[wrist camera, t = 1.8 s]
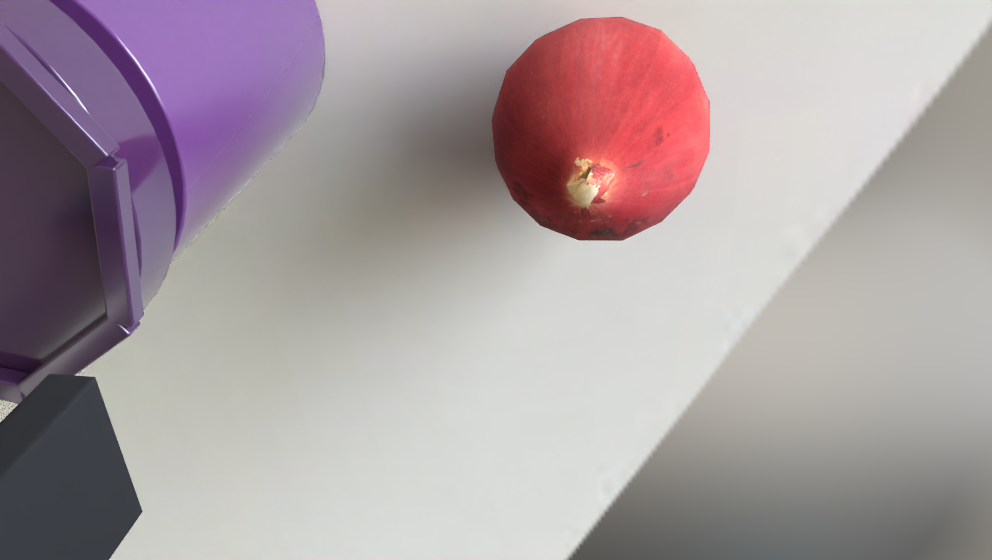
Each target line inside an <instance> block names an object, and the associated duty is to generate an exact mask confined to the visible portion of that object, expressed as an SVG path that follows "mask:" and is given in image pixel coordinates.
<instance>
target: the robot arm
mask: <svg viewBox="0 0 992 560" xmlns="http://www.w3.org/2000/svg"><path fill="white" fill-rule="evenodd" d="M141 513H142V509H141V506H140V503H139V501H138V498H137V495H136V492H135V489H134V486H133V484H132V481H131V478H130V475H129V472H128V469H127V467H126V464H125V461H124V458H123V455H122V452H121V450H120V447H119V444H118V441H117V438H116V435H115V433H114V430H113V427H112V424H111V421H110V418H109V416H108V413H107V410H106V407H105V404H104V401H103V399H102V396H101V393H100V390H99V387H98V384H97V382H96V379H95V377H85V376H72V375H58V374H48V375H47V376H46V377H45V378H44V379H43V380H42V381H41V382H40V383H39V384H38V385H37V386H36V387H35V388H34V389H33V390H32V391H31V392H30V393H29V394H28V395H27V396H26V397H25V398H24V399H23V400H22V401H21V402H20V403H19V404H18V405H17V406H16V407H15V408H14V409H13V410H12V412H11V413H10V414H9V415H8V416H7V417H6V418H5V419H4V420H3V421H2V422H1V423H0V560H109V559H110V557H111V556H112V554H113V553H114V551H115V550H116V549H117V547H118V546H119V544H120V543H121V541H122V540H123V539H124V537H125V536H126V534H127V533H128V531H129V530H130V529H131V527H132V526H133V524H134V523H135V521H136V520H137V519H138V517H139V516H140V514H141Z"/></svg>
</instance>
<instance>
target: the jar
mask: <svg viewBox="0 0 992 560" xmlns="http://www.w3.org/2000/svg"><path fill="white" fill-rule="evenodd" d="M324 62H325V52H324V37H323V32H322V26H321V20H320V17H319V14H318V10H317V7H316V3H315V1H314V0H0V400H5V401H9V402H14V403H18V404H19V403H20V402H21V401H22V400H23V399H24V398H25V397H26V396H27V395H28V394H29V393H30V392H31V391H32V390H33V389H34V388H35V387H36V386H37V385H38V384H39V383H40V382H41V381H42V380H43V379H44V378H45V377H46V376H47V375H48V374H58V375H72V376H74V375H76V374H77V373H79V372H80V371H81V370H83V369H84V368H86V367H87V366H88V365H90V364H91V363H93V362H94V361H95V360H97V359H98V358H100V357H101V356H102V355H104V354H105V353H107V352H108V351H109V350H111V349H112V348H113V347H115V346H116V345H118V344H119V343H120V342H122V341H123V340H125V339H126V338H127V337H129V336H130V335H131V334H132V333H133V332H134V331H135V330H136V329H137V328H138V326H139V325H140V322H139V320H140V319H141V318H142V317H143V315H144V310H145V308H146V307H147V306H148V304H149V303H150V302H151V301H152V299H153V298H154V297H155V296H156V294H157V292H158V290H159V289H160V287H161V285H162V283H163V281H164V279H165V277H166V275H167V271H168V268H169V265H170V264H171V263H172V262H173V261H174V260H175V259H176V257H177V256H178V255H179V254H180V253H181V252H182V251H183V250H184V249H185V248H186V247H187V246H188V245H189V244H190V243H191V242H192V241H193V240H194V239H195V238H196V237H197V236H198V235H199V234H200V233H201V232H202V231H203V230H204V229H205V228H206V226H207V225H208V224H209V223H210V222H211V221H212V220H213V219H214V218H215V217H216V216H217V215H218V214H219V213H220V212H221V211H222V210H223V209H224V208H225V207H226V206H227V205H228V204H229V203H230V202H231V201H232V200H233V199H234V198H235V197H236V195H237V194H238V193H239V192H240V191H241V190H242V189H243V188H244V187H245V186H246V185H247V184H248V183H249V182H250V181H251V180H252V179H253V178H254V177H255V176H256V175H257V174H258V173H259V172H260V171H261V170H262V169H263V168H264V167H265V166H266V164H267V163H268V162H269V161H270V160H271V159H272V158H273V157H274V156H275V155H276V154H277V153H278V152H279V151H280V150H281V149H282V148H283V147H284V146H285V145H286V144H287V143H288V142H289V141H290V140H291V139H292V138H293V137H294V136H295V135H296V133H297V132H298V131H299V130H300V128H301V127H302V126H303V125H304V123H305V122H306V121H307V119H308V117H309V115H310V114H311V112H312V110H313V108H314V106H315V103H316V101H317V98H318V95H319V93H320V89H321V84H322V80H323V74H324Z"/></svg>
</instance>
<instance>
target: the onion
mask: <svg viewBox="0 0 992 560" xmlns="http://www.w3.org/2000/svg"><path fill="white" fill-rule="evenodd" d="M492 132H493V143H494V154H495V161H496V164H497V167H498V170H499V172H500V174H501V176H502V178H503V180H504V182H505V184H506V186H507V188H508V190H509V192H510V194H511V196H512V198H513V200H514V201H515V202H517V203H518V204H519V205H520V206H521V207H522V208H523V209H524V210H525V211H526V212H527V213H528V214H529V215H530V216H531V217H532V218H533V219H534V220H535V221H536V222H537V223H538V224H539V225H540V226H543V227H545V228H548V229H551V230H553V231H556V232H559V233H561V234H564V235H566V236H569V237H572V238H574V239H577V240H624V239H627V238H629V237H631V236H633V235H635V234H637V233H639V232H641V231H643V230H645V229H647V228H649V227H652V226H654V225H656V224H658V223H660V222H662V221H663V220H664V219H665V218H666V217H667V216H668V215H669V214H670V213H671V212H672V211H673V210H674V209H675V208H676V207H677V206H678V205H679V204H680V203H681V202H682V201H683V200H684V199H685V198H686V197H687V196H688V195H689V194H690V192H691V191H692V190H693V188H694V187H695V184H696V182H697V179H698V177H699V175H700V172H701V170H702V167H703V165H704V163H705V160H706V158H707V156H708V153H709V146H710V102H709V99H708V97H707V95H706V92H705V90H704V88H703V85H702V83H701V80H700V78H699V76H698V73H697V71H696V69H695V66H694V64H693V63H692V61H691V60H690V58H689V57H688V56H687V55H686V54H685V53H684V52H683V51H682V50H681V49H680V48H679V47H678V46H677V45H676V44H674V43H673V42H672V41H671V40H670V39H669V38H668V37H667V36H666V35H665V34H664V33H663V32H662V31H661V30H659V29H656V28H653V27H650V26H647V25H644V24H641V23H638V22H635V21H632V20H629V19H626V18H623V17H609V18H589V19H579V20H577V21H575V22H573V23H570V24H568V25H566V26H564V27H561V28H559V29H557V30H555V31H552V32H550V33H548V34H546V35H544V36H542V37H540V38H539V39H537V40H535V41H534V43H533V44H532V45H531V46H530V47H529V48H528V49H527V50H526V51H525V52H524V53H523V54H522V55H521V56H520V57H519V58H518V59H517V60H516V61H515V63H514V64H513V65H512V66H511V67H510V68H509V69H508V70H507V71H506V74H505V77H504V80H503V84H502V87H501V90H500V93H499V96H498V99H497V102H496V106H495V109H494V113H493V117H492Z"/></svg>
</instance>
